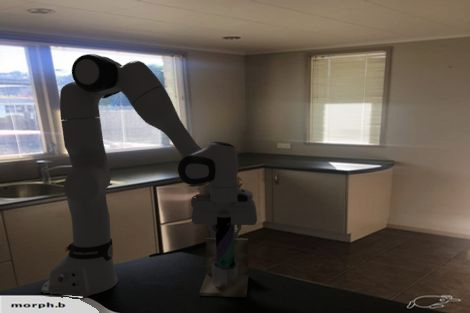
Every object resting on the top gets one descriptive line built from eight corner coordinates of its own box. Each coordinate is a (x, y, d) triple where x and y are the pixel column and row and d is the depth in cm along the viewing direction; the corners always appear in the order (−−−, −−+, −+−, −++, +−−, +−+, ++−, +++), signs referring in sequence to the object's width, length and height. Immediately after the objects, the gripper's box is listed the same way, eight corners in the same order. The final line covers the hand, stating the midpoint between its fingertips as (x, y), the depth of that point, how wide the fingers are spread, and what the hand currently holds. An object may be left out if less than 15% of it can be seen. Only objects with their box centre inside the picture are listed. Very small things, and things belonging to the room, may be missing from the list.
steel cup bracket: (210, 288, 108) (210, 269, 107) (215, 273, 118) (215, 256, 117) (237, 288, 107) (236, 269, 107) (239, 274, 117) (239, 257, 117)
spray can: (213, 268, 110) (212, 205, 107) (220, 261, 115) (219, 201, 112) (229, 270, 107) (228, 206, 105) (236, 263, 112) (235, 202, 110)
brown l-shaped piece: (199, 295, 105) (198, 253, 104) (207, 275, 119) (206, 237, 118) (246, 297, 104) (246, 254, 103) (248, 276, 118) (248, 238, 117)
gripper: (188, 196, 106) (189, 240, 108) (256, 196, 105) (256, 241, 106) (192, 192, 113) (193, 234, 114) (257, 192, 111) (257, 235, 112)
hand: (224, 238), depth 110 cm, fingers closed on spray can, 5 cm apart
